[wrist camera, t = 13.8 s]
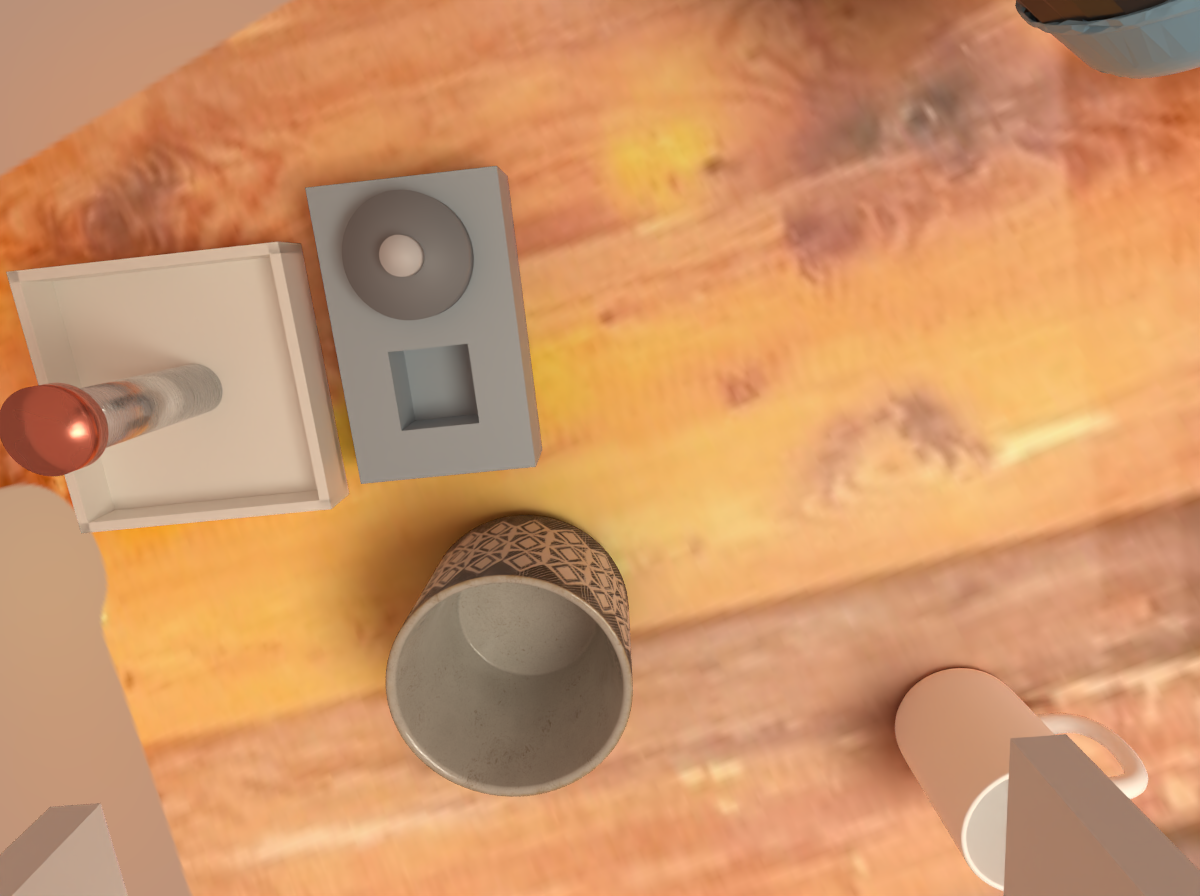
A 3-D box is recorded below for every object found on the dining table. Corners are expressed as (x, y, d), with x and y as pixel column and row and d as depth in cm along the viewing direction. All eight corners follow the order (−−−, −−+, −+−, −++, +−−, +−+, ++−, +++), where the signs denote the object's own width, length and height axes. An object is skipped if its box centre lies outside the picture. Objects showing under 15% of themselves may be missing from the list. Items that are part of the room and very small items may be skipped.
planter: (666, 577, 47) (682, 661, 37) (558, 721, 49) (545, 836, 39) (500, 470, 45) (468, 527, 35) (397, 624, 48) (340, 718, 38)
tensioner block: (333, 195, 42) (283, 181, 35) (507, 176, 41) (488, 158, 35) (382, 465, 45) (344, 497, 39) (542, 449, 45) (530, 479, 39)
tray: (47, 271, 43) (6, 272, 40) (300, 243, 42) (278, 241, 39) (114, 516, 46) (81, 533, 43) (349, 493, 46) (331, 508, 43)
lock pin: (156, 359, 43) (-14, 391, 31) (222, 352, 43) (75, 382, 31) (173, 424, 44) (13, 480, 32) (237, 417, 44) (100, 471, 32)
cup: (882, 678, 48) (951, 782, 38) (1065, 639, 47) (1185, 736, 38) (900, 783, 50) (971, 908, 40) (1078, 748, 49) (1194, 866, 39)
